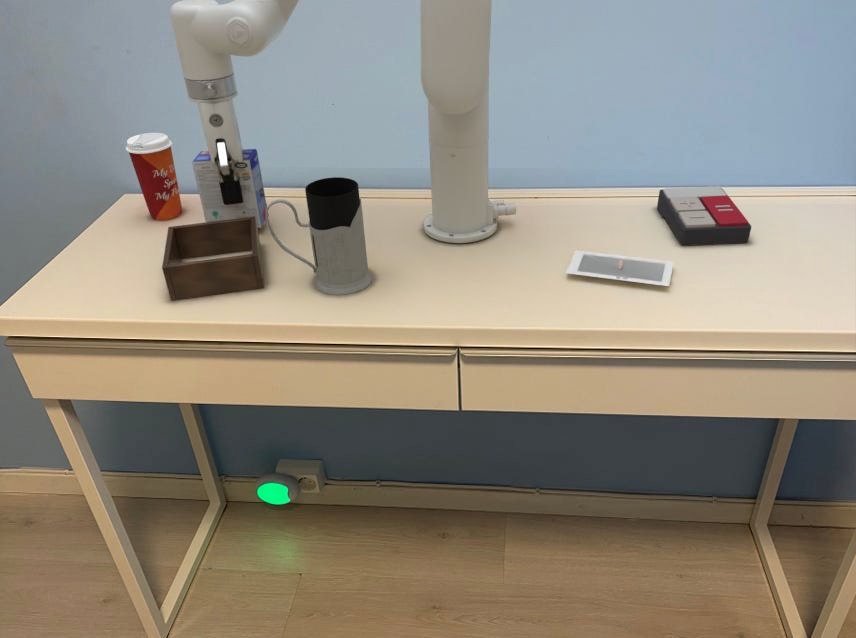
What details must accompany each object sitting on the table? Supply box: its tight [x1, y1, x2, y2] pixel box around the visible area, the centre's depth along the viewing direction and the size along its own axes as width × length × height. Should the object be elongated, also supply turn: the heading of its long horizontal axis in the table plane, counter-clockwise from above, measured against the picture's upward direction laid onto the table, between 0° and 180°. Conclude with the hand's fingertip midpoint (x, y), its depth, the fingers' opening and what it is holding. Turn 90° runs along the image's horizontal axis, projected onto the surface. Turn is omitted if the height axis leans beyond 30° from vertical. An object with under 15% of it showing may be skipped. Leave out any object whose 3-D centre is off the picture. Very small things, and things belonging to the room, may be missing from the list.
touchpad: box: [565, 249, 675, 287], centre depth 113 cm, size 8×15×2 cm, turn 71°
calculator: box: [656, 185, 752, 247], centre depth 126 cm, size 11×4×15 cm
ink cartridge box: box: [191, 147, 270, 229], centre depth 126 cm, size 10×6×14 cm, turn 89°
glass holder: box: [265, 176, 373, 296], centre depth 110 cm, size 9×14×15 cm, turn 99°
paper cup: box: [125, 132, 183, 221], centre depth 134 cm, size 8×8×14 cm
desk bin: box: [161, 216, 265, 302], centre depth 116 cm, size 14×15×6 cm
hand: (233, 194), depth 127 cm, fingers closed on ink cartridge box, 6 cm apart
